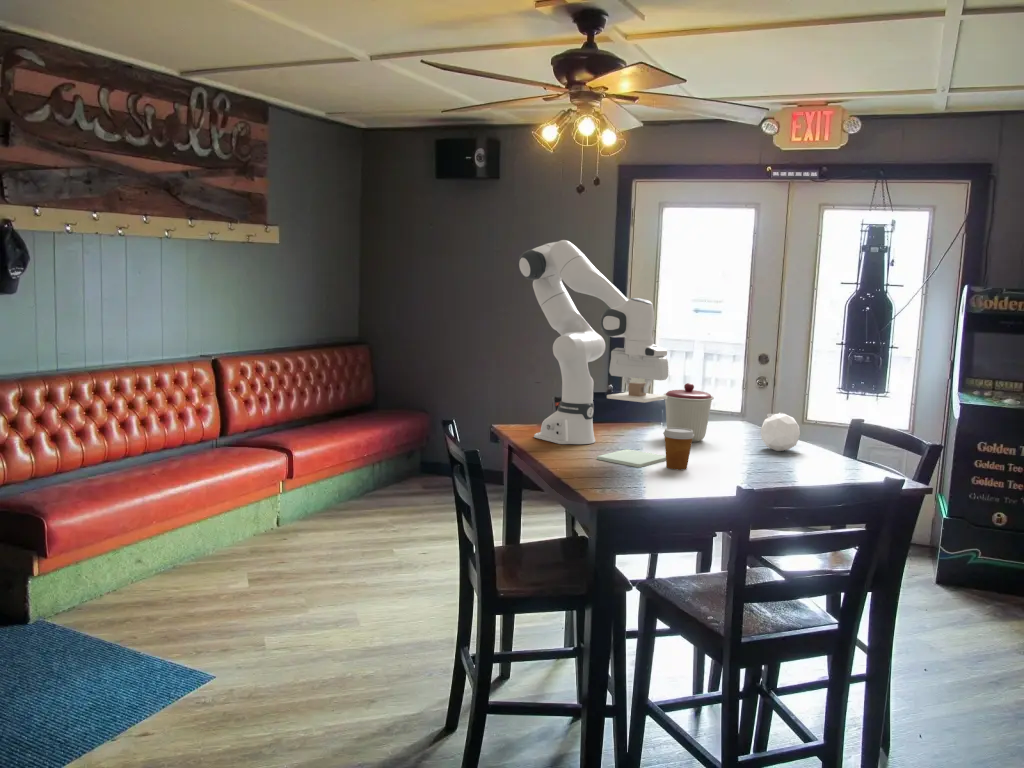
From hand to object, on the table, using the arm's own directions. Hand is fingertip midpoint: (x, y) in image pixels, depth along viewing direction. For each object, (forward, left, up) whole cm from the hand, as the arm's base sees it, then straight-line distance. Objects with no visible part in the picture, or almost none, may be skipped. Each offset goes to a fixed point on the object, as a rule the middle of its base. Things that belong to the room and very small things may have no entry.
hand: (637, 392), depth 278 cm
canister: (-6, +46, -22) cm, 51 cm away
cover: (0, 0, -2) cm, 2 cm away
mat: (0, 0, -22) cm, 22 cm away
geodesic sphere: (+26, +55, -22) cm, 65 cm away
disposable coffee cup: (+16, 0, -22) cm, 27 cm away
